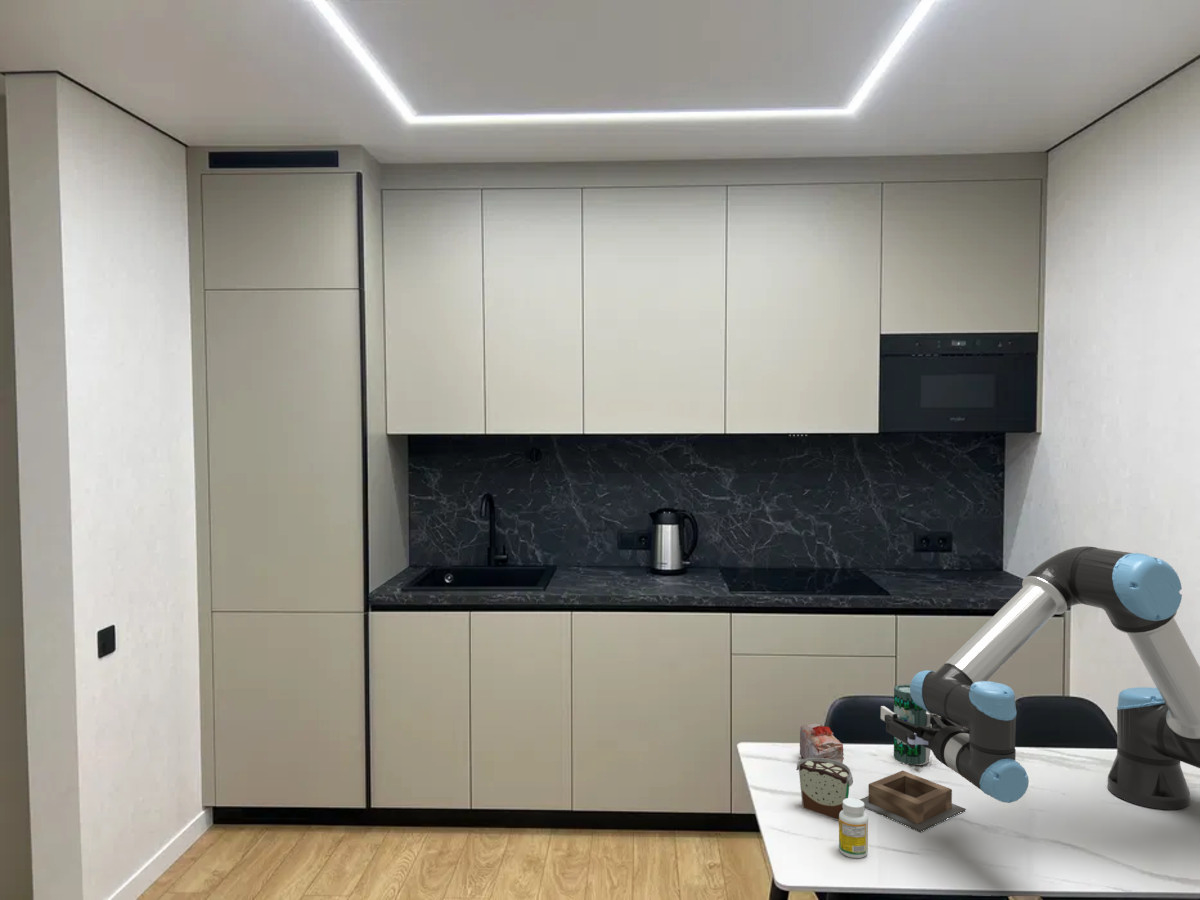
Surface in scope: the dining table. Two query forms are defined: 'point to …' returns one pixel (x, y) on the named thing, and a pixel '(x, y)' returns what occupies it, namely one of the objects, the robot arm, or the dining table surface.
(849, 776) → the food container
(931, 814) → the holder
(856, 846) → the supplement bottle
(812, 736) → the food item
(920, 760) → the can
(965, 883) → the dining table surface
